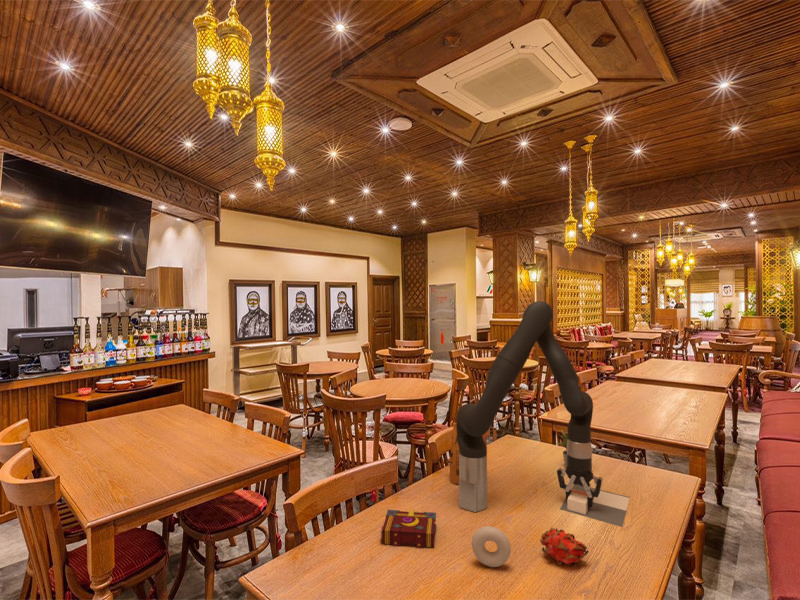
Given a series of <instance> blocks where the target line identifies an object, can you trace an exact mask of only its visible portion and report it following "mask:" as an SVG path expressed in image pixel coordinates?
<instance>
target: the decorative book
mask: <svg viewBox="0 0 800 600" xmlns="http://www.w3.org/2000/svg"><path fill="white" fill-rule="evenodd" d="M436 519H437V512H431V511H430V512H429V511H423V512H418V511H415V510H408V511H401V510H397V509H387V511H386V514H385V519H384V522H383V526H382V527H381V533H380V536H381V543H382V545H383V544H384V545H391V546H392V547H400V546H404V547H405V546H408V547H415V548H417V549H424V548H435V538H436V532H437V523H436V521H437V520H436Z"/></svg>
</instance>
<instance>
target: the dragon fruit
mask: <svg viewBox="0 0 800 600" xmlns="http://www.w3.org/2000/svg"><path fill="white" fill-rule="evenodd" d="M575 538H576V536H575V534H573V533H570V532H568V533H566V532H565V529H560V530H559V529H558V528H557V527H556V528H554V527H551V528H550V529H549V530H546V531H545V532H544V533H541V539H540V543H541V545H542V546H543V547H542V548H541V551H542V552H543V553H544V554H547V555H550V556H551V558H552V559H553V560H555V561H556V563H557V564H558V565H559V566H560V565H562V563H564V564H566V565H569V566H571V567H575V566H578V565H579V563H578V562H580V561H581V559H584V557H586V556H587V554H588V553H589V550H588V547H587V545H585V543H583V542H582V541H579V540H576V539H575ZM544 546H545V547H544Z"/></svg>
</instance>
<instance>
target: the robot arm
mask: <svg viewBox="0 0 800 600" xmlns="http://www.w3.org/2000/svg"><path fill="white" fill-rule="evenodd" d="M553 318H554V310H553V309H552V307H551V305H550V304H549V303H548V302H546V301H544V300H543V301H540V300H537V301H533V302H532V303H529V305H528V306H527V307H526V309H525V310H524V311H523V314H522V319H521V321H520V323H519V325H518V327H517V329H516V330H515V331H514V333H513V335H512V336H511V337H510V338H509V340H508V341H506V343H505V345H504V346H503V347H502V349H500V351H499V353H498V354H497V356H496V357H495V359H494V360H493V362H492V364H491V365H490V367H489V369H488V372H487V373H488V374H487V377H486V383H485V387H484V391H483V392H482V395H481V397H480V398H479V400H478V401H477V403H475V404H474V403H466V404H465V403H464V404H463V405H461V406H460V407H459V409H458V411H457V414H456V421H455V423H456V425H457V442H458V446H459V484H458V506H459V508H461V509H464V510H467V511H470V512H474V513H477V512H480V511H483V510H486V508H487V507H488V449H487V448H488V447H487V444H486V442H485V440H484V437H483V436H484V435H485V434H486V433H487V432H488V431H489V430H490V429H491V426H492V424H493V422H494V420H495V418H496V416H497V413H498V412H499V409H500V406H501V405H502V404H503V402H504V399H505V398H506V397H507V395H508V393H509V391H510V389H511V387H512V386H513V384H514V383H515V382H516V380H517V379H518V376H519V375H520V373H521V372H522V370H523V368H524V366H525V364H526V363H527V360H528V358H529V356H530V355H531V353H532V350H533V348H534V346H535V344H538V347H539V349H540V351H541V352H542V354H543V356H544V358H545V361H546V362H547V365H548V367H549V368H550V370H551V373H552V375H553V378H554V380H555V381H556V383H557V385H558V390H559V393H560V398H561V401H562V403H563V405H564V408H565V409H566V411H567V412H568V413H569V414H570V419H569V421H568V424H567V437H568V439H567V449H566V450H567V468H562V467H558V469H557V470H556V474H557V480H558V485H559V488H560V489H563V490H564V492H565V499H566V501H567V499H568V497H569V495H570V494H571V489H572V487H573V485H574V484H575V485H580V486H583V487H584V489H585V491H586V492H587V494H588V497H587V500H588V508H589V509H590V507H592V505H593V497H598V495H599V493H600V490H602V489H601V488H602V484H603V477H601V476H599V477H598V476H596V475H594V473H593V468H592V467H593V465H592V464H593V459H592V457H593V449H592V431H591V425H592V419H593V413H594V402H593V398H592V397H591V395H590V394H589V393H587V392H586V391H582V390H581V389H580V386H579V381H580V380H579V375H578V374H577V371H576V369H575V367H574V365H573V362H572V361H571V360H570V358H569V356H568V354H567V353H566V352H565V351H564V349H563V348H562V346H561V345H560V344H559V342H558V341H557V339H556V337H555V335H554V333H553V332H554V331H553V330H552V328H551V323H552V321H553ZM565 474H566V476H567V477H568V479H569V481H568V482H567V484H566V483H565V482H566V481H565V477H564V476H565ZM592 480H593V482H594V484H595V491H592V488H593V487H592V486H591V481H592Z"/></svg>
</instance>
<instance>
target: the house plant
mask: <svg viewBox="0 0 800 600" xmlns="http://www.w3.org/2000/svg"><path fill="white" fill-rule="evenodd" d="M560 431H561V433H562V435H563V436H562V435H561V434H560V433H558V435H559V436H560V438H561V439H562V440H563V441H561V442H557V443H555V444H556V445H559V446H563V447H564V448H565V450H563V451H562V456H563V461H564V469H566V468H567V439H568V434H567V433H566V432H565V431H564V430H563V429H562V428H560Z"/></svg>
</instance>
